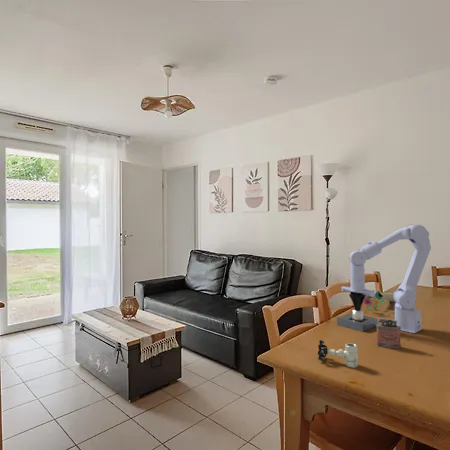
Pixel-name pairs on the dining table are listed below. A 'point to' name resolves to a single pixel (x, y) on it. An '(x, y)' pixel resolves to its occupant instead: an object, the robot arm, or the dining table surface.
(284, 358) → the dining table surface
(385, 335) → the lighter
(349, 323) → the block
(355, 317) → the bushing
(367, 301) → the flower vase
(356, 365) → the valve
